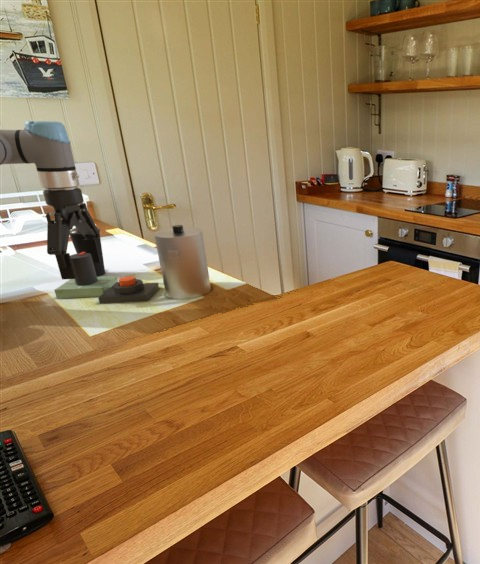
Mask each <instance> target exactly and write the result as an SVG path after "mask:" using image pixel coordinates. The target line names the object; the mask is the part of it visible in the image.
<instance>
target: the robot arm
mask: <svg viewBox="0 0 480 564" xmlns="http://www.w3.org/2000/svg"><path fill="white" fill-rule="evenodd" d="M23 125H24V129H0V166H2V165H17V164H19V165H23V164H27V165H28V164H34V165H35V168H36V171H37V175H38V179H39V183H40V187H41V188H43V191H42V194H43V198H44V201H45V204H46V205H47V206H49V207H52V208H53V212H46V213H45V217H46V223H47V225H46V228H47V230H46V231H47V233H46V253H47V255H50V256H55V259H56V263H57V267H58V270H59V274H60V278H61V280H70V279H75V278H76V277H75V273H74V269H73V265H72V262H71V258H70V255H71V254H70V252H68V245H69V240H70V235H69V234H70V230H72V229H74V228H77V229H78V230H79V231H80V233H81V234H82V235H83V236H84V237H85V238H87V239H84V240H83V241H84V245H85V249H86V253H90V254H91V256H92V260H93V262H101V259H100V255H99V251H98V247H97V242H96V239H95V238H99V237H100V238H101V235H100V236H99V232H100V231H99V230H98V229H97V228H98V227H97V225H96V223H95V221H94V220H93V217H92V216H91V214H90V212H89V210H88V206H87V203H85V202H84V201H85V199H84V196H83V192H82V189H81V188H80V187H79V186H80V185H81V184H80V180H79V178H80V175H79V174H78V173H77V168H76V165H75V160H74V155H73V151H72V150H73V149H72V145H71V141H70V139H69V135H68V133H67V129H66V126H65V125H64V124H63V123H62V122H61V121H57V120H55V121H54V120H53V121H52V120H51V121H50V120H26V121H25V122H24V124H23ZM92 229H93V230H92Z"/></svg>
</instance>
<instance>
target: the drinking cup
mask: <svg viewBox="0 0 480 564" xmlns="http://www.w3.org/2000/svg"><path fill="white" fill-rule="evenodd" d="M97 229H98V230H99V236H100V237H99V238H95V239H96V242H97V247H98V251H99V255H100V259H101V262H93V264H94V268H95V272H96V276H97V277H103V276H105V275H106V270H105V261H104V255H103V247H102V240H101V233H100V231H101V228H99V227H97ZM92 230H93V229H92ZM69 238H70V240H71V242H72V245H73V247H74V250H75V252H76V253H75V254H78V253H82V252H85V253H86V249H85V245H84V241H83V240H84V239H87V238H85V237H84V236H83V235H82V234H81V233H80V231H79V230H78V229H77V228H76V227H73V229H71V230H70V234H69Z"/></svg>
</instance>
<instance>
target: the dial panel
mask: <svg viewBox="0 0 480 564" xmlns="http://www.w3.org/2000/svg"><path fill="white" fill-rule="evenodd" d="M97 280H98V281H97V282H96V283H93V284H90V285H76V283H75V279H68V280H67V281H66V282H63V284H61V285H59V286H58V287H56V288H55V289H54V293H55V297H56V299H58V300H59V299H75V298H76V299H77V298H94V297H95V298H96V297H100V296H101V295H102V294H103V293H105V292H106V291H107V290H108V289H109V288H111V287H112V286H113V285H114V284H115V283H117V282H119V279H118V275H107V276H105V275H102V276H99V277H97Z"/></svg>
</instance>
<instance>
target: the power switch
mask: <svg viewBox="0 0 480 564" xmlns="http://www.w3.org/2000/svg"><path fill="white" fill-rule="evenodd" d="M135 279H136V277H135V276H133V275H129V276H128V275H127V276H122V277H120V278H119V279H118V282H119V283H120V286H131V285H134V284H136V280H135Z"/></svg>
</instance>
